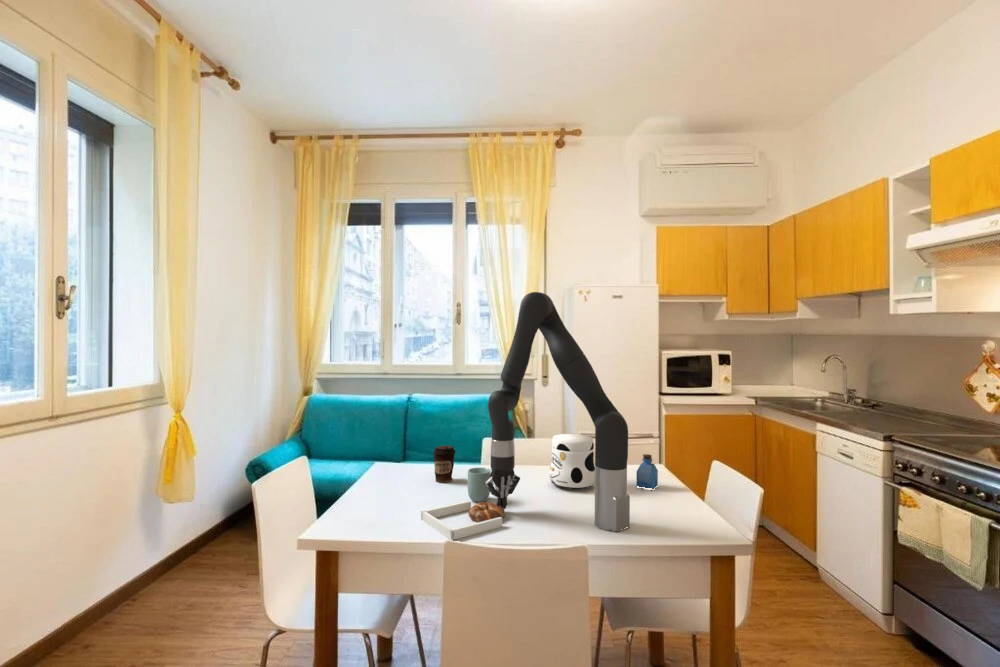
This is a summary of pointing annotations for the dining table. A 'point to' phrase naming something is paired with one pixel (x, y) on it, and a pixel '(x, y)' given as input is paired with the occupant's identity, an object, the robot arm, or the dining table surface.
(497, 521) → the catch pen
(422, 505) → the dining table surface
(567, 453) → the milk container
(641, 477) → the perfume bottle
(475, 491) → the cup
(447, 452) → the coffee cup
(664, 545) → the dining table surface
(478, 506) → the pretzel
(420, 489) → the dining table surface
